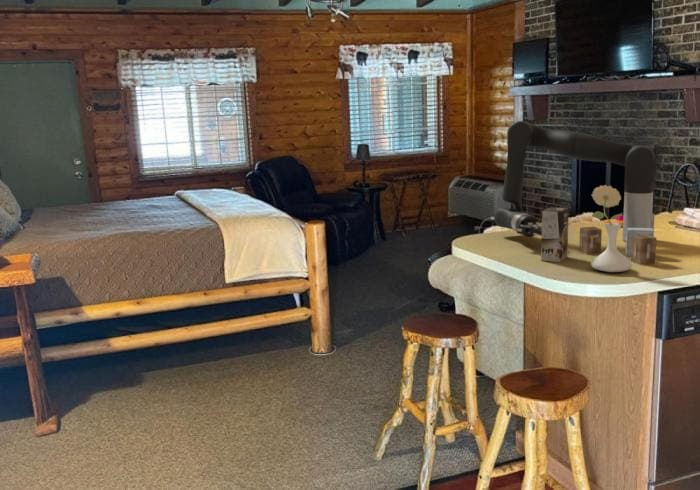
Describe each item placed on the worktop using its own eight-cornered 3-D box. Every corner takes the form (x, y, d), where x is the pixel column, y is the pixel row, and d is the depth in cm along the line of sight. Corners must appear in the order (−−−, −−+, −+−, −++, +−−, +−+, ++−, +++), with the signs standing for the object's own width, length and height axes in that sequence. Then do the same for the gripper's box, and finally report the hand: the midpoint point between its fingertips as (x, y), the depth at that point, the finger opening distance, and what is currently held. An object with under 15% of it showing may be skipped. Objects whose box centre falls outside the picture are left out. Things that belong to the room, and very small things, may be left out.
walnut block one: (645, 260, 208) (647, 234, 206) (655, 263, 203) (656, 237, 201) (630, 261, 207) (631, 235, 206) (639, 264, 202) (640, 238, 201)
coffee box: (560, 262, 209) (562, 211, 206) (540, 260, 212) (541, 210, 209) (568, 256, 216) (569, 207, 213) (548, 255, 220) (549, 206, 216)
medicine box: (651, 254, 215) (653, 227, 214) (652, 257, 211) (654, 230, 209) (625, 253, 218) (626, 227, 216) (625, 256, 214) (627, 229, 212)
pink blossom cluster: (634, 226, 265) (634, 216, 264) (617, 228, 263) (617, 217, 262) (620, 223, 273) (620, 213, 272) (603, 225, 270) (604, 215, 270)
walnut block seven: (593, 250, 225) (594, 226, 223) (601, 253, 219) (602, 229, 218) (578, 251, 224) (579, 227, 222) (586, 254, 219) (586, 230, 217)
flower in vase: (640, 270, 195) (644, 185, 190) (616, 277, 189) (620, 189, 184) (600, 263, 206) (603, 182, 201) (577, 269, 199) (580, 185, 195)
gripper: (507, 215, 235) (525, 222, 219) (543, 213, 237) (564, 220, 220) (507, 236, 237) (525, 245, 220) (542, 234, 238) (564, 243, 222)
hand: (545, 233), depth 220 cm, fingers closed
